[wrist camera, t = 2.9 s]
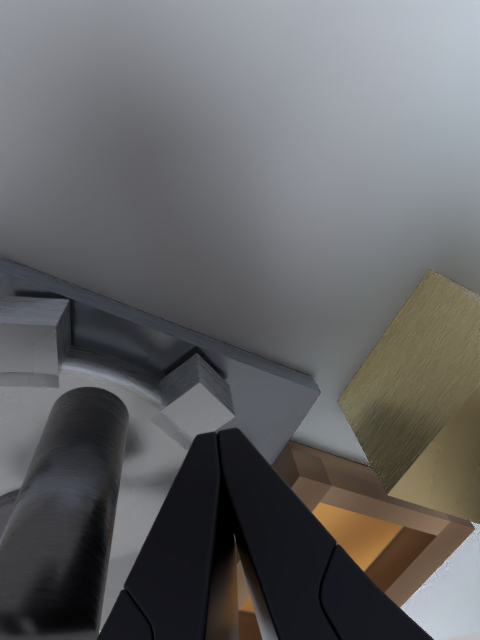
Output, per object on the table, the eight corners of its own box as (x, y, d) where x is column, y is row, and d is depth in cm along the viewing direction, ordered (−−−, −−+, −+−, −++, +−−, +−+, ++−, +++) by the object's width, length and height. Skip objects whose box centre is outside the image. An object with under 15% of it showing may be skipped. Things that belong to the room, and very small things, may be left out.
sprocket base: (313, 377, 14) (321, 392, 13) (161, 608, 18) (161, 629, 17) (-119, 210, 10) (-141, 219, 10) (-187, 547, 14) (-206, 571, 14)
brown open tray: (450, 493, 17) (475, 528, 16) (328, 630, 20) (340, 669, 19) (288, 440, 15) (299, 476, 14) (178, 603, 18) (178, 646, 17)
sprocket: (325, 395, 13) (440, 623, 7) (162, 635, 17) (156, 899, 12) (-150, 217, 9) (-640, 401, 4) (-213, 578, 14) (-490, 923, 8)
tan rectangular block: (511, 312, 14) (625, 385, 11) (417, 429, 16) (486, 526, 12) (428, 267, 13) (522, 332, 9) (336, 398, 15) (386, 495, 11)
